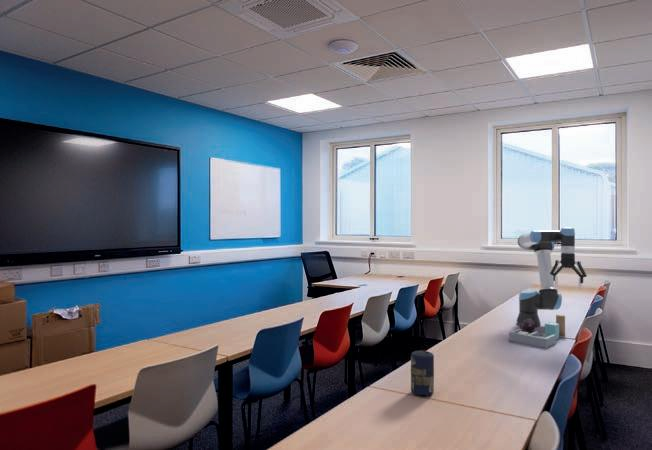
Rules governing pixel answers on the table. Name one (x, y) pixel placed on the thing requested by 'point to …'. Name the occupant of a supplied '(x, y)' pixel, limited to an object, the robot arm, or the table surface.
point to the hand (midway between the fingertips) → (568, 287)
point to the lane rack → (532, 339)
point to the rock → (528, 326)
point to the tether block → (556, 327)
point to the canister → (422, 372)
